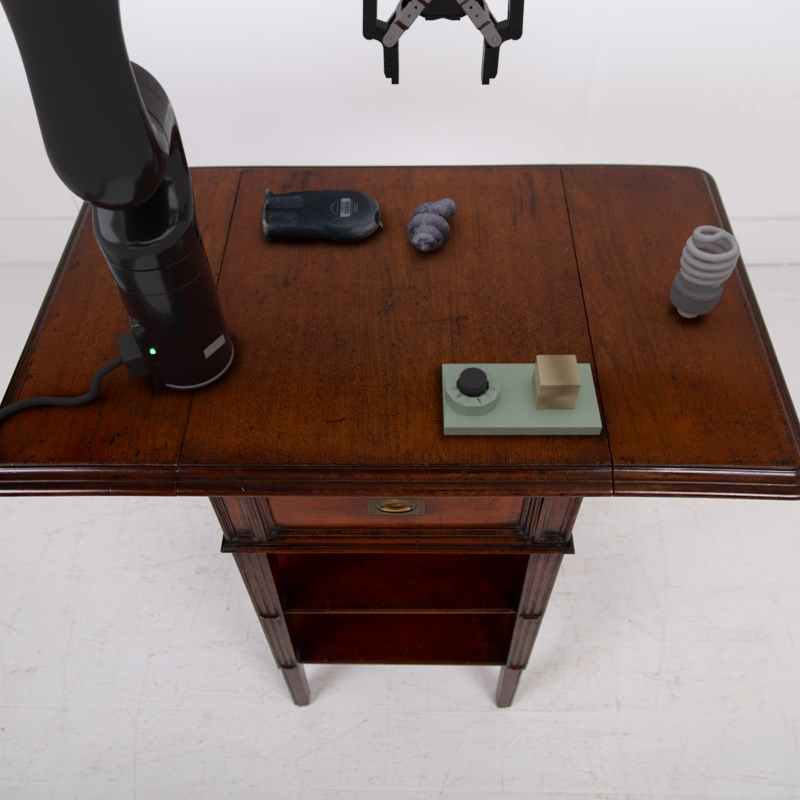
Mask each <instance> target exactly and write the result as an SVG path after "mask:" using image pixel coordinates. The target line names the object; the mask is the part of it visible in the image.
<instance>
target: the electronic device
mask: <svg viewBox="0 0 800 800" xmlns="http://www.w3.org/2000/svg"><path fill="white" fill-rule="evenodd" d="M262 226H263V228H262V231H263V235H264V236H263V238H265V239H266V240H270V241H271V240H312V239H313V240H314V239H315V240H318V239H323V240H332V241H336V242H348V243H349V242H351V243H352V242H356V241H359V240H364V239H365V238H368V237H369V236H371V235H372V234H373V233H374V232H376V230H377V229H378V228H379V227H380V226H381V227H382V228H383V222H382V214H381V210H380V204H379V203H378V201H377V199H374V198H373V197H372V196H371V195H369V194H367V193H365V192H363V191H360V190H354V189H318V190H317V189H316V190H301V191H290V192H282V193H274V192H273V190H270V189H269V188H266V189H265V196H264V204H263V210H262Z"/></svg>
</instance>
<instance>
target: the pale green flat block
mask: <svg viewBox="0 0 800 800" xmlns="http://www.w3.org/2000/svg"><path fill="white" fill-rule="evenodd" d="M534 366H535V363H442V365H441V383H442V384H441V386H442V388H441V389H442V414H443V415H442V416H443V417H442V419H443V435H444V436H557V435H558V436H600V435H601V432H602V429H603V425H602V419H601V414H600V407H599V404H598V403H599V402H598V398H597V394H596V388H595V383H594V379H593V378H594V377H593V373H592V369H591V364H590V363H584V362H583V363H578V362H577V366H578V372H579V377H580V383H581V386H580V390H579V394H578V397H577V401H576V405H575V408H574V409H535V401H534V393H533V385H532V376H533V371H534ZM471 367H475V368H479V369H481V370H483V371H484V372H485V373H486V375H487V384H486V390H485V392H484V393H483V394H482V395H480V396H478V397H469V396H466V395H464V394H463V393H462V392H461V391H460V389H459V380H460V374H461V372H462V371H463V370H465V369H467V368H471Z"/></svg>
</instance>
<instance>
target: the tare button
mask: <svg viewBox="0 0 800 800" xmlns="http://www.w3.org/2000/svg"><path fill="white" fill-rule="evenodd" d="M486 384H487V375H486V373H485V372H484V371H483V370H481V369H479V368H475V367H471V368H467V369H465V370H463V371H462V372H461V374H460V380H459V389H460V391H461V392H462V393H463V394H464V395H466V396H469V397H478V396H480V395H482V394H483V393H484V392H485V390H486Z"/></svg>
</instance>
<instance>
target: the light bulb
mask: <svg viewBox="0 0 800 800" xmlns="http://www.w3.org/2000/svg"><path fill="white" fill-rule="evenodd" d="M703 249H704V250H703ZM740 249H741V248H740V244H739V241H738V240H737V238H736V237H735V236H734V235H733V234H731V233H730V232H729V231H726V230H724V229H723V228H720V227H717V226H714V225H699V226H697V227H696V228H695V229H694V230H693V232H692V235H690V236H689V238H688V239H687V240H686V242H685V246H684V247H683V248H682V253H681V256H680V259H679V262H680V266H681V267H680V268H679V271H678V272H677V273H676V275H675V276H674V278H673V281H672V284H671V289H670V293H669V298H670V301H671V304H672V305H673V306H674V307H675V308H676V309H677V312H678V313H679V315H680V316H682V317H684V318H688V319H692V318H696V317H698V316H701V315H705V314H708V313H710V312H711V311H712V310H714V309H715V307H716V305H717V304H718V303H719V300H720V298H721V297H722V294H723V291H724V282H726V281H727V280H729V278H730V277H731V275H732V274H733V271H734V269H735V268H736V267H737V263H738V259H739V258H740V255H741V250H740ZM707 250H708V251H707Z"/></svg>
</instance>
